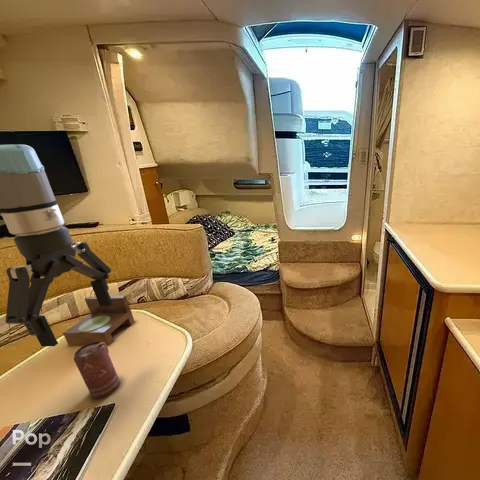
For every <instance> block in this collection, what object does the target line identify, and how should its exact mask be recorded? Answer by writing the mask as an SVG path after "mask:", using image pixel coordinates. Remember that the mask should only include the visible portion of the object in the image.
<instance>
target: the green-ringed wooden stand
mask: <svg viewBox="0 0 480 480" xmlns="http://www.w3.org/2000/svg"><path fill="white" fill-rule="evenodd" d="M109 296H110V298H111V301H112V303H113V304H112V305H111V306H100V305H99V303H98V300H97V298H96V296H87V297H85V298H84V302H85V304H86V306H87V307H88V311H89V314H87V316H85V317H84V318H81V320H79V321H77V322H76V323H75V324H74V325H72V326H71V327H69V328H68V329H66V330H65V331H63V332H62V334H63V337H64V339H65V341H66V343H67V345H68V347H83V346H85V345H87V344H89V343H93V342H104V343H105V344H106V346H107V347H109V346H111V345H112V343H114V342H115V341H114V338H113V336H112V333H113V332H114V331H116V330H117V329H118V328H119V327H131V326H133V325H134V324H135V323H136V321H135V318H134V315H133V313H132V310H131V307H130V304H129V301H128V298H127V296H126V295H109Z"/></svg>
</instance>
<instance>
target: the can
mask: <svg viewBox="0 0 480 480" xmlns="http://www.w3.org/2000/svg"><path fill="white" fill-rule="evenodd" d="M73 361H74V364H75V365H76V367H77V369H78V371H79V373H80V376H81V377H82V379H83V380H82V381H83V382H84V384H85V386H86V388H87V390H88V392H89V394H90V396H91V399H93V400H102V399H105V398H107V397H109V396H110V395H112V394H114V393H115V392H116V391H117V390H118V389H119V388H120V386H121V380H120V377H119V376H118V373H117V371H116V369H115V366H114V364H113V360H112V359H111V356H110V351H109V348H108V346H106V344H105V343H104V342H93V343H89V344H87V345H85V346H80V348H78V349H77V350H76V351H75V353H74V356H73Z"/></svg>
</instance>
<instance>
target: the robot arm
mask: <svg viewBox="0 0 480 480" xmlns="http://www.w3.org/2000/svg"><path fill="white" fill-rule="evenodd" d="M0 216H1V217H2V220H3V221H4V224H5V225H6V228H7V230H8V233H9V234H11V235H15V236H14V237H13V238H12V239H13V242H14V244H15V247H16V248H17V250H18V252H19V254H20V255H21V256H22V257H24V259H25V264H23V265H19V266H12V267H7V269H6V274H7V277H8V281H9V283H8V292H7V293H8V294H7V302H6V303H7V304H6V312H5V313H6V314H5V323H6V324H8V325H12V324H13V325H17V324H18V325H19V324H20V325H21V324H24V326H25V328H26V330H27V331H28V334H29V335H30V336H35V337H36V339H37V340H38V343H39V344H40V347H56V346H57V345H58V344H59V342H58V340H57V338H56V336H55V333H54V332H53V330H52V328H51V327H50V324H49V322H48V320H47V317H46V316H45V315H40V313H41V310H42V307H43V305H44V302H45V298H46V296H47V293H48V290H49V287H50V284H52V283H53V282H54V279H55V278H58V277H60V276H62V275H63V274H65V273H69V272H70V271H74V272H75V273H79V274H81V275H83V276H85V277H87V278H89V279H92V280H91V281H90V285H91V287H92V291H93V293H94V296H95V297H96V298H97V300H98V303H99V305H100V306H111V305H112V304H113V303H112V301H111V298H110V296H111V295H110V293H109V291H110V290H109V289H110V288H109V285H108V283H107V280H109V278H110V275H109V274H110V273H111V272H112V269H111V268H110V267H109V266H108V265H107V264H106V263H105V262H104V261H103V260H102V258H100V257H99V256H98V255H96V253H95V252H93V251H92V250H91V248H90V246H89V244H88V242H86V241H79V242H78V241H77V242H76V241H75V242H73V238H72V236H71V234H70V231H69V229H68V227H66V226H64V225H65V222H66V221H65V219H64V217H63V215H62V212H61V209H60V207H59V205H58V203H57V200H56V197H55V194H54V192H53V189H52V187H51V185H50V181H49V178H48V176H47V173H46V171H45V166H44V165H43V164H42V162H41V160H40V158H39V156H38V154H37V152H36V151H35V149H34V148H33V147H32V146H30V145H27V144H0ZM76 255H77V256H78V257H79V258H80V259H82V260H83V261H84V262H85V263H86V264H85V263H84V262H83V261H81V260H79V259H77V258H76ZM30 276H31V277H30Z"/></svg>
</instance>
